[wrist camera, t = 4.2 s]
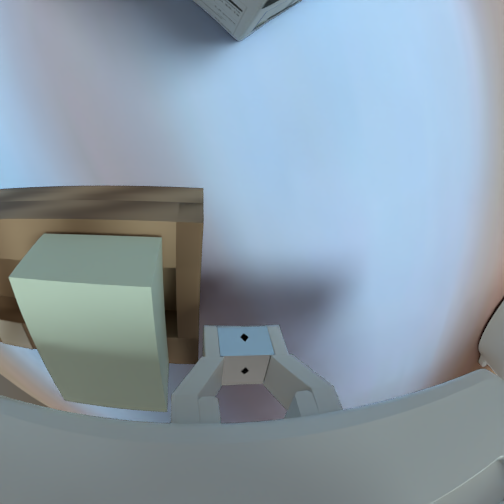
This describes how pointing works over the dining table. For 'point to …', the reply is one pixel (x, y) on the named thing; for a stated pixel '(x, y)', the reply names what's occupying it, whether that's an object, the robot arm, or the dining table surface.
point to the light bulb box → (244, 13)
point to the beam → (114, 224)
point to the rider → (98, 317)
